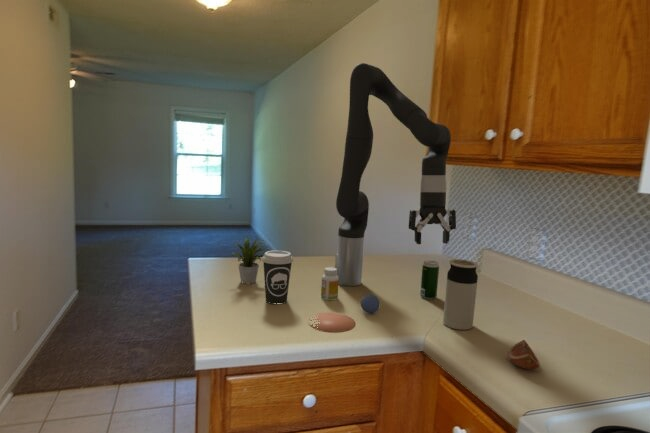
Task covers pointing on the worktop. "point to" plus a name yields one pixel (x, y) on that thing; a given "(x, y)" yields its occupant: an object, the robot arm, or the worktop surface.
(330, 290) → the supplement bottle
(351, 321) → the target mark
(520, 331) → the worktop surface
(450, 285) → the travel mug
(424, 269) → the beer can
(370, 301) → the ball
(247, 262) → the house plant
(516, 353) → the fruit slice
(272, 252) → the coffee cup
